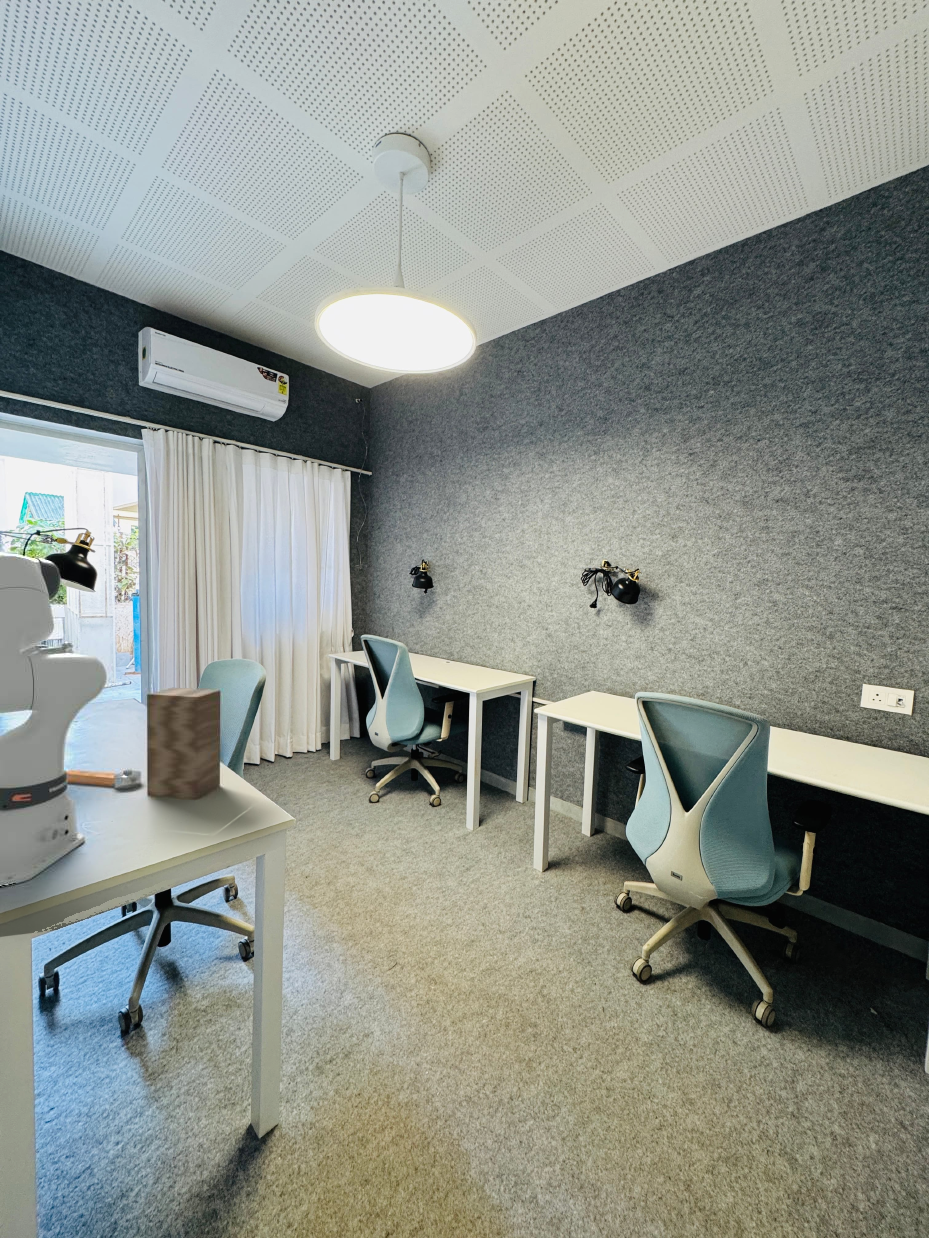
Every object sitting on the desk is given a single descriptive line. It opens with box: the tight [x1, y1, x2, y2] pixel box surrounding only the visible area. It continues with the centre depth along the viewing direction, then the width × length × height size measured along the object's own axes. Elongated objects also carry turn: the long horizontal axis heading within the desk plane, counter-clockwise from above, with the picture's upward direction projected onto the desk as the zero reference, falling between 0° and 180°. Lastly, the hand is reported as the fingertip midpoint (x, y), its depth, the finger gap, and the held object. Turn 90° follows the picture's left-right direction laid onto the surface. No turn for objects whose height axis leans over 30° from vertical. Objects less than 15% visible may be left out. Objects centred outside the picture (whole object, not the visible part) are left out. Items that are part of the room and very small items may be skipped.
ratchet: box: [66, 768, 142, 791], centre depth 133 cm, size 22×6×4 cm, turn 82°
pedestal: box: [146, 687, 221, 800], centre depth 129 cm, size 14×9×26 cm, turn 82°
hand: (53, 646), depth 133 cm, fingers open, 8 cm apart
